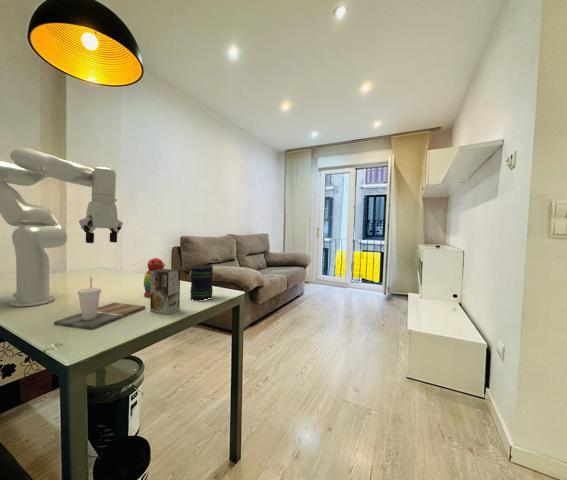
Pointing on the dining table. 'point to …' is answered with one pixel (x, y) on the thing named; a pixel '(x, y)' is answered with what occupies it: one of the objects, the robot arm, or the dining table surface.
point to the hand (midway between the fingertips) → (102, 242)
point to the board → (100, 316)
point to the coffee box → (164, 291)
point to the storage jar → (201, 282)
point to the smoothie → (89, 301)
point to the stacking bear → (152, 265)
